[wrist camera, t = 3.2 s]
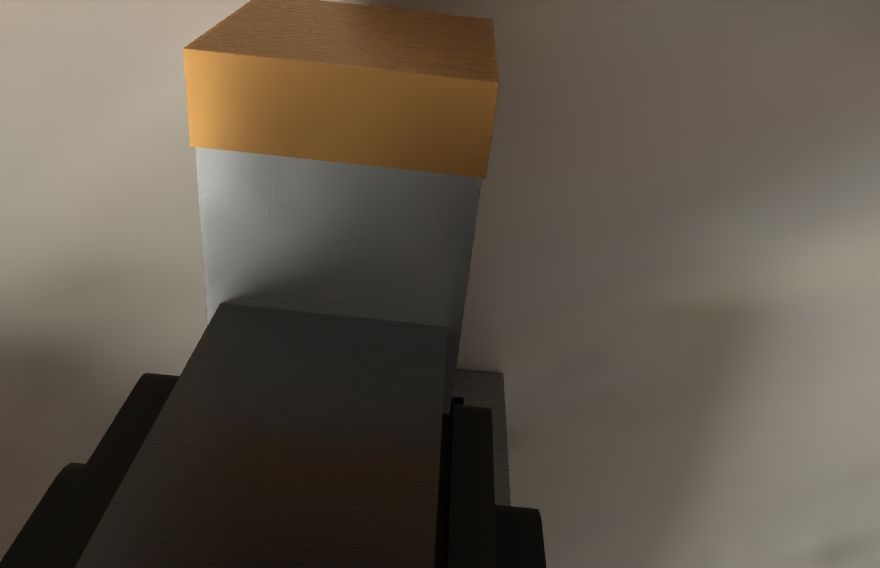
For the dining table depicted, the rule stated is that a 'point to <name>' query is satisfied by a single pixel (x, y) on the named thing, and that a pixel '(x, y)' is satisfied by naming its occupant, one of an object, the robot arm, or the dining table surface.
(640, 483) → the dining table surface
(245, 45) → the steel bar
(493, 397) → the sleeve
